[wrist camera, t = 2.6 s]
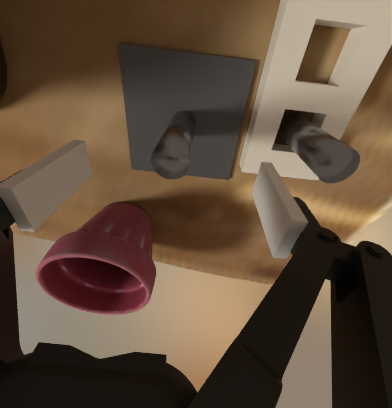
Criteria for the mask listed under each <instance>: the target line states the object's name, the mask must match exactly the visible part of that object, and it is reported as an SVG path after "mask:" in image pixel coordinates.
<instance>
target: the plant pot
mask: <svg viewBox="0 0 392 408" xmlns="http://www.w3.org/2000/svg"><path fill="white" fill-rule="evenodd" d="M155 277H156V268H155V265H154V262H153V260H152V222H151V219H150V218H149V216H148V215H147V214H146V213H145V212H144V211H143V210H142V209H140V208H139V207H137V206H134V205H132V204H128V203H122V202H118V203H112V204H109V205H107V206H106V207H104V208H103V209H102V210H101V211H100V212H99V213H97V214H96V215H95V216H94V217H93V218H91V219H90V220H89V221H88V222H87V223H85V224H84V225H83V226H82V227H81V228H79V229H78V230H77V231H76V232H73V233H69V234H67V235H64V236H63V237H61V238H60V239H58V240H57V241H56V242H55V244H54V245H53V246H52V247H51V249H50V250H49V251H48V253H47V254H46V255H45V257H44V258H43V259H42V261H41V262H40V264H39V265H38V267H37V270H36V278H37V281H38V283H39V285H40V286H41V288H42V289H43V290H44V291H45V292H46V293H48V294H49V295H50V296H52V297H53V298H54V299H56V300H58V301H60V302H62V303H64V304H66V305H68V306H71V307H73V308H77V309H80V310H83V311H87V312H93V313H98V314H109V315H110V314H112V315H117V314H127V313H132V312H135V311H137V310H139V309H141V308H143V307H144V306H145V305H146V304H147V303H148V302H149V300H150V297H151V294H152V290H153V286H154V282H155Z"/></svg>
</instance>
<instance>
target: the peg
mask: <svg viewBox="0 0 392 408" xmlns="http://www.w3.org/2000/svg"><path fill="white" fill-rule="evenodd" d="M195 128H196V121H195V118H194V116H193V115H192V114H191V113H189V112H187V111H179V112H177V113H176V114H175V115H174V116H173V118H172V119H171V121H170V123H169V125H168V126H167V128H166V130H165V132H164V133H163V135H162V137H161V139H160V140H159V142H158V144H157V146H156V147H155V149H154V151H153V153H152V155H151V164H152V167H153V169H154V170H155V171H156V173H157V174H159V175H160V176H162V177H164V178H166V179H178V178H180V177H182V176H184V175H185V174H186V172H187V171H188V169H189V165H190V158H191V152H192V146H193V140H194V134H195Z"/></svg>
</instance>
